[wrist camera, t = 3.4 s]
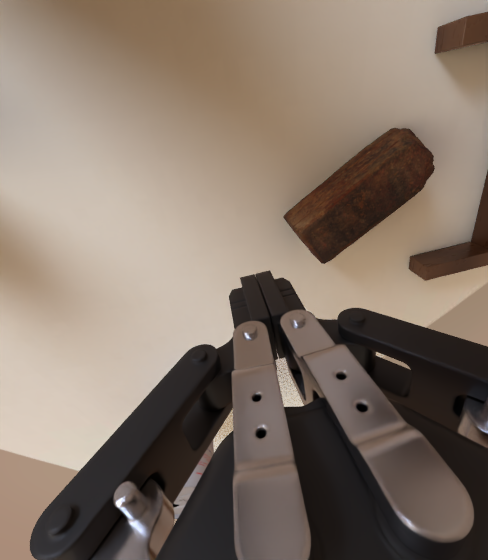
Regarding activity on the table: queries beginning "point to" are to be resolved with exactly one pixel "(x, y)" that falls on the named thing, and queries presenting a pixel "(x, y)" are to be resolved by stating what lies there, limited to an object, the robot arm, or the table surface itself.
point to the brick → (361, 193)
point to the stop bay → (484, 243)
